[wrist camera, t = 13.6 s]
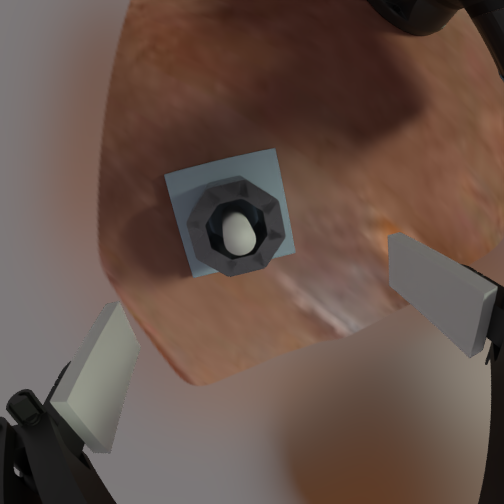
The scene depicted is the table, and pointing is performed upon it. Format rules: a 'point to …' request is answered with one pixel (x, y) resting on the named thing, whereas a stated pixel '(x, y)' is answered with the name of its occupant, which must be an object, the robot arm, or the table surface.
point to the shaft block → (228, 203)
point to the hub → (212, 245)
